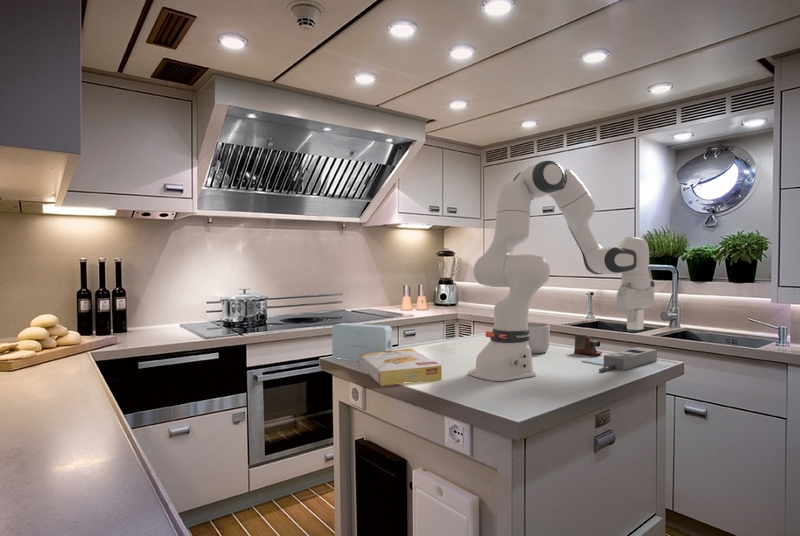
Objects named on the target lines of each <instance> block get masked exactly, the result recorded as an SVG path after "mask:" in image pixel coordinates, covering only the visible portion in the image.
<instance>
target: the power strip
mask: <svg viewBox="0 0 800 536" xmlns="http://www.w3.org/2000/svg"><path fill="white" fill-rule="evenodd" d="M603 359H604V365H603V367H602V368H599V369H598V371H599V373H604V372H607V371H612V370H619V371H627V370H630V369H632V368H636V367H639V366H644V365H646V364H651V363H653V362H657V360H658V349H657V348H656V349H654V348H647V347H639V346H636V347H632V348H628V349H624V350H620V351H617V352H612V353H607V354H605V355H603Z"/></svg>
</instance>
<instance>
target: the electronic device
mask: <svg viewBox="0 0 800 536" xmlns="http://www.w3.org/2000/svg"><path fill="white" fill-rule="evenodd" d="M600 346H601V341H597V340H594V337H593V335H592V334H591V335H590V334H587V335H585V334H584V335H576V336H574V350H573V353H574V354H577V355H584V354H586V355H587V356H593V355H594V357H599V356H601V355H602V354H603V351H602V350H601V351H599V350H597V347H600ZM586 355H585V356H586Z"/></svg>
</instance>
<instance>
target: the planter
mask: <svg viewBox="0 0 800 536" xmlns="http://www.w3.org/2000/svg"><path fill="white" fill-rule="evenodd" d="M528 329H529V333H530V336H529V341H528V343H529V347H530V349H531V354H544V353H546V352H547V351H548V350H549V347H550V338H551V337H550V334H551V333H550V332H551V325H550V324H548V323H541V322H528Z"/></svg>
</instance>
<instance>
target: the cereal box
mask: <svg viewBox="0 0 800 536" xmlns="http://www.w3.org/2000/svg"><path fill="white" fill-rule="evenodd" d="M359 359H360V361H359V367H360V366H361V367H362V368H363V369H364V370H365V371H366V372H368V373H369V374H370V375H371V376H372V377H371V376H370V375H369V374H368V375H369V376H370V377H371V378H372V379H373V380H374V381H375V382H376V383H378V384H379V386H382V387H383V386H393V385H394V384H395V383H404V382H415V383H419V382H418V381H425V382H434V380H435V381H441V380H442V379H443V377H442V375H443V374H442V372H443V371H442V365H441V364H440V363H438V362H436V361H434V360H432V359H430V358H429V357H427V356H425V355H423V354H421V353H420V352H418V351H417V350H415V349H413V348H402V349H395V350H393V349H392V351H383V352H373V353H363V354H360V355H359ZM361 367H360V368H361ZM362 368H361V369H362ZM363 369H362V370H363ZM364 370H363V371H364ZM365 371H364V372H365ZM366 372H365V373H366ZM395 385H396V384H395Z"/></svg>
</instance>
